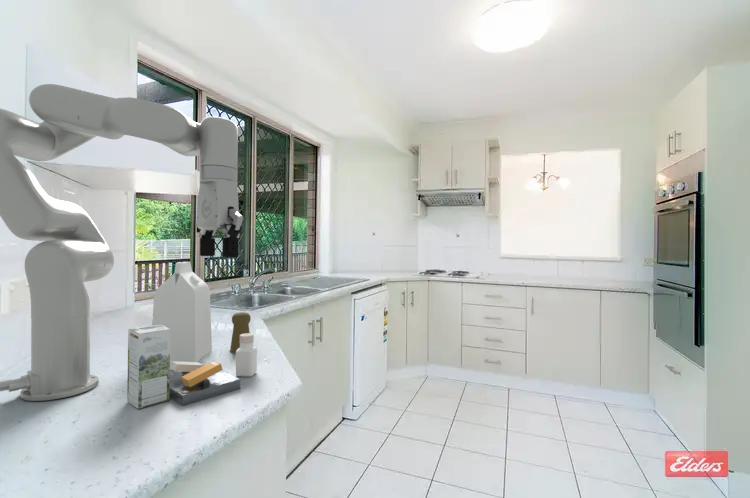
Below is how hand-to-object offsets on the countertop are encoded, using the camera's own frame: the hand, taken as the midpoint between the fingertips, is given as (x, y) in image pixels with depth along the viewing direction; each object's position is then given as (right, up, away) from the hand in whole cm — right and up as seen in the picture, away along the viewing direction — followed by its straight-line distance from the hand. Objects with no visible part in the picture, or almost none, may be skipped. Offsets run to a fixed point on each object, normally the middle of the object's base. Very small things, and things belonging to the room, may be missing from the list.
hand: (218, 256), depth 81 cm
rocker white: (-7, -24, +1) cm, 25 cm away
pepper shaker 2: (+3, -29, +8) cm, 30 cm away
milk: (-19, -28, +22) cm, 41 cm away
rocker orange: (-2, -24, -3) cm, 25 cm away
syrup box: (-10, -29, -8) cm, 31 cm away
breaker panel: (-5, -28, -1) cm, 29 cm away
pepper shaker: (-5, -28, +29) cm, 41 cm away
